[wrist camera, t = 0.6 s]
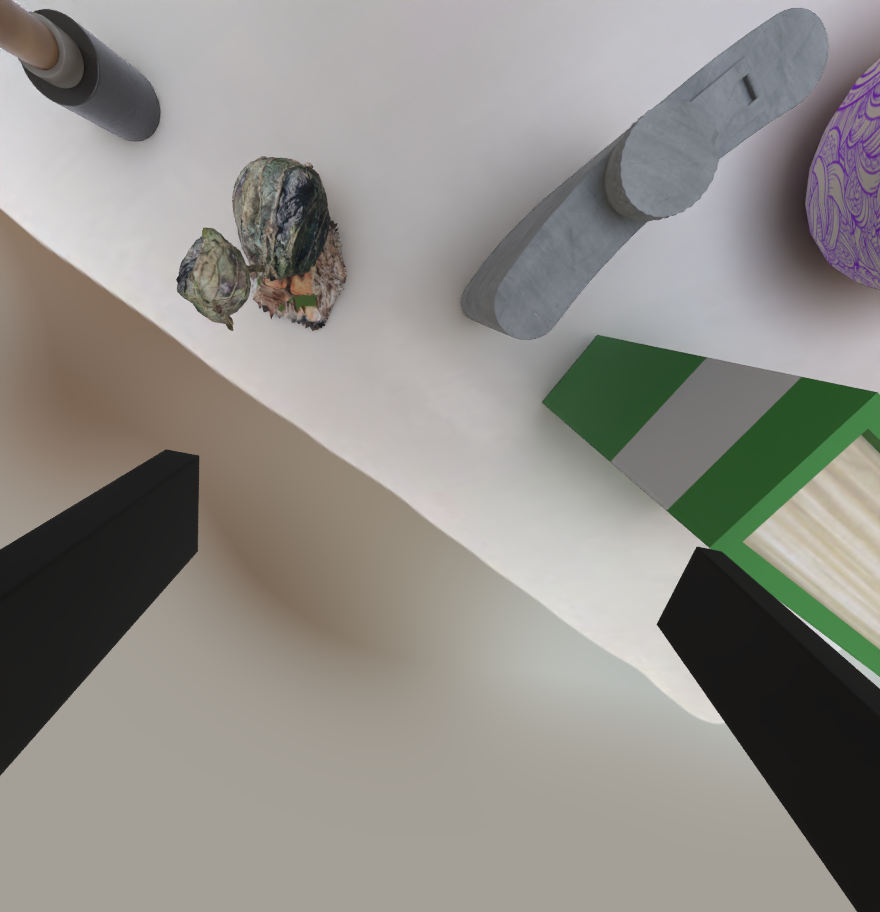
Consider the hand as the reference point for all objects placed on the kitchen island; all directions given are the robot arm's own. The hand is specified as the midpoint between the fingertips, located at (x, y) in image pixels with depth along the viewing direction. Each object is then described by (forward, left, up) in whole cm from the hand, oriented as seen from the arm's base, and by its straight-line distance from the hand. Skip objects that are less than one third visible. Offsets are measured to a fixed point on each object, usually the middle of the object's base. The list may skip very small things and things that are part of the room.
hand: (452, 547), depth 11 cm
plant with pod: (-7, -12, -28) cm, 31 cm away
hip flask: (-12, +6, -28) cm, 31 cm away
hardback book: (+1, +20, -28) cm, 35 cm away
